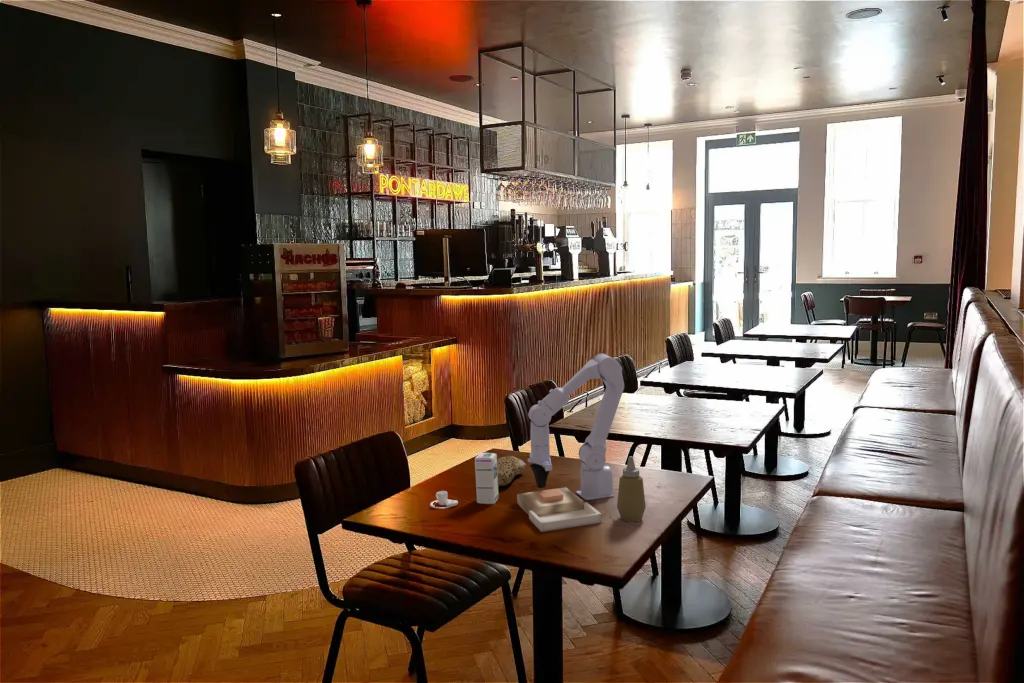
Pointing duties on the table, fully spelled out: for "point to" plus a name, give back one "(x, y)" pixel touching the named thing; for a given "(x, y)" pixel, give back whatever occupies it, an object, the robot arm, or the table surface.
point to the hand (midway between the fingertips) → (541, 487)
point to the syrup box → (486, 478)
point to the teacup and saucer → (443, 500)
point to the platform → (549, 503)
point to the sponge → (508, 469)
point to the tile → (550, 495)
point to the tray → (566, 519)
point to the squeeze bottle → (631, 493)
